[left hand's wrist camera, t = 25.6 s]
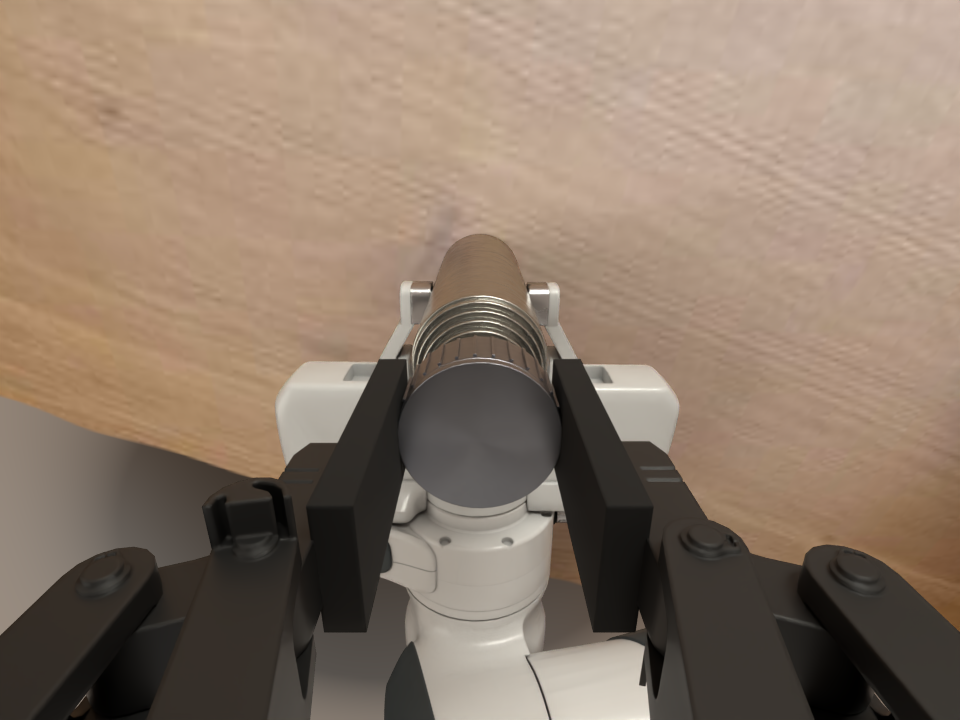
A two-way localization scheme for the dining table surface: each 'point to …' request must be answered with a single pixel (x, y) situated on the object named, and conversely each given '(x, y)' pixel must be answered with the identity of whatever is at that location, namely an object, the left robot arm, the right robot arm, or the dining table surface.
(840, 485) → the dining table surface
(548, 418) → the cap
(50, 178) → the dining table surface
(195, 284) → the dining table surface
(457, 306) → the bottle
